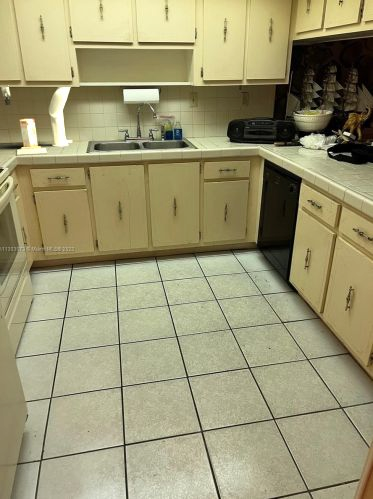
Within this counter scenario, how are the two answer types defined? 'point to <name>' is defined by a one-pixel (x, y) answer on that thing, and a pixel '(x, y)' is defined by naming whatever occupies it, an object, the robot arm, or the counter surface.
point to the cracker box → (28, 133)
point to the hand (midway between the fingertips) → (8, 104)
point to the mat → (31, 151)
